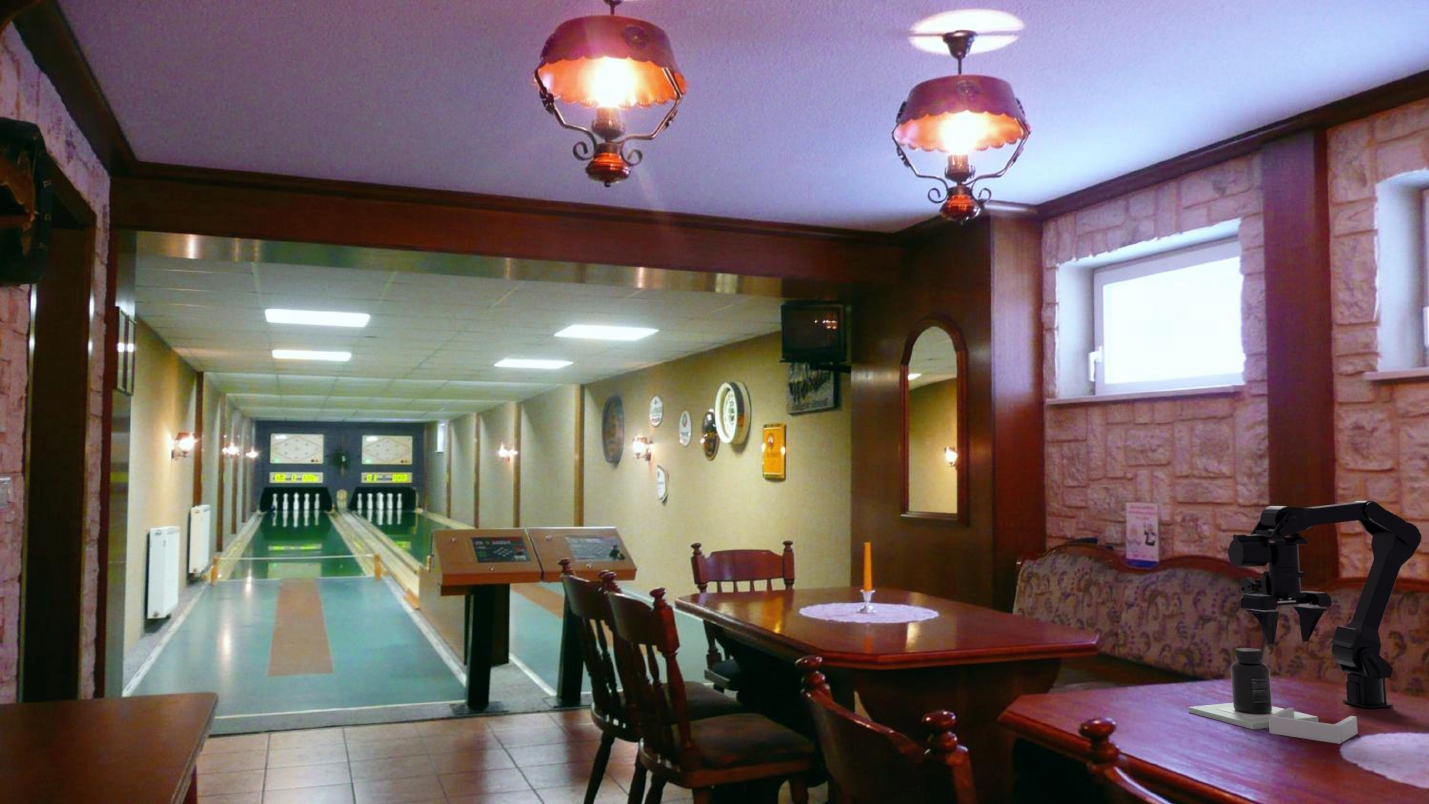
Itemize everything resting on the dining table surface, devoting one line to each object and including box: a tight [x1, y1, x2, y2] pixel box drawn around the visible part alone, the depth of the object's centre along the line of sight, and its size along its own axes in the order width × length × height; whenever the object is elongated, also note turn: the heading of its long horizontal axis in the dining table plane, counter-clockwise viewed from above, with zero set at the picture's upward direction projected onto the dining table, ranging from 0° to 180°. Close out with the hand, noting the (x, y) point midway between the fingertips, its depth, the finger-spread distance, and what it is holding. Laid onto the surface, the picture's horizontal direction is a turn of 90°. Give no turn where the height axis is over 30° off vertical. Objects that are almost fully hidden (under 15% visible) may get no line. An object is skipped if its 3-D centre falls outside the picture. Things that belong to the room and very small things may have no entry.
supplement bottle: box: [1230, 647, 1273, 714], centre depth 202 cm, size 7×7×12 cm
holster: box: [1268, 707, 1359, 745], centre depth 187 cm, size 10×12×3 cm
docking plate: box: [1188, 702, 1319, 730], centre depth 201 cm, size 16×16×1 cm
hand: (1288, 642), depth 210 cm, fingers open, 9 cm apart
